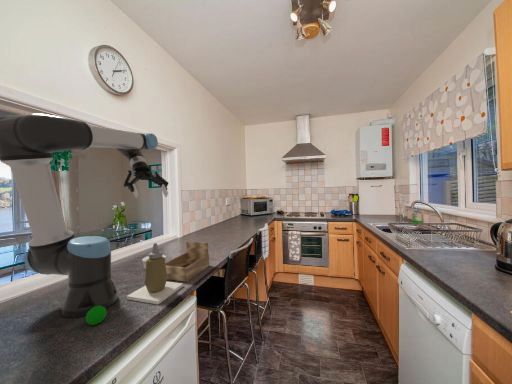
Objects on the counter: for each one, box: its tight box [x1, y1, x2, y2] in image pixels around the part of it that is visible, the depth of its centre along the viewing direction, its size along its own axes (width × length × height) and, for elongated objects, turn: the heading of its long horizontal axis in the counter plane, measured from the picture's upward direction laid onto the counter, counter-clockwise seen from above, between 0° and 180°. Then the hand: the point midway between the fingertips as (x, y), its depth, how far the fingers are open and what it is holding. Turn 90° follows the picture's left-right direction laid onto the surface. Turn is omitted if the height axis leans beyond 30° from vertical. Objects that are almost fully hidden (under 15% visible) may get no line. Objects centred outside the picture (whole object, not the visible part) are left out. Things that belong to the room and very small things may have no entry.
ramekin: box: [141, 254, 167, 271], centre depth 107 cm, size 11×11×5 cm
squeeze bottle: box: [144, 242, 168, 293], centre depth 80 cm, size 8×8×18 cm
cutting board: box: [126, 280, 184, 305], centre depth 80 cm, size 14×14×1 cm
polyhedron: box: [85, 306, 108, 326], centre depth 62 cm, size 5×5×5 cm
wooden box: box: [165, 241, 210, 283], centre depth 100 cm, size 14×20×12 cm
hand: (152, 195), depth 97 cm, fingers open, 13 cm apart
